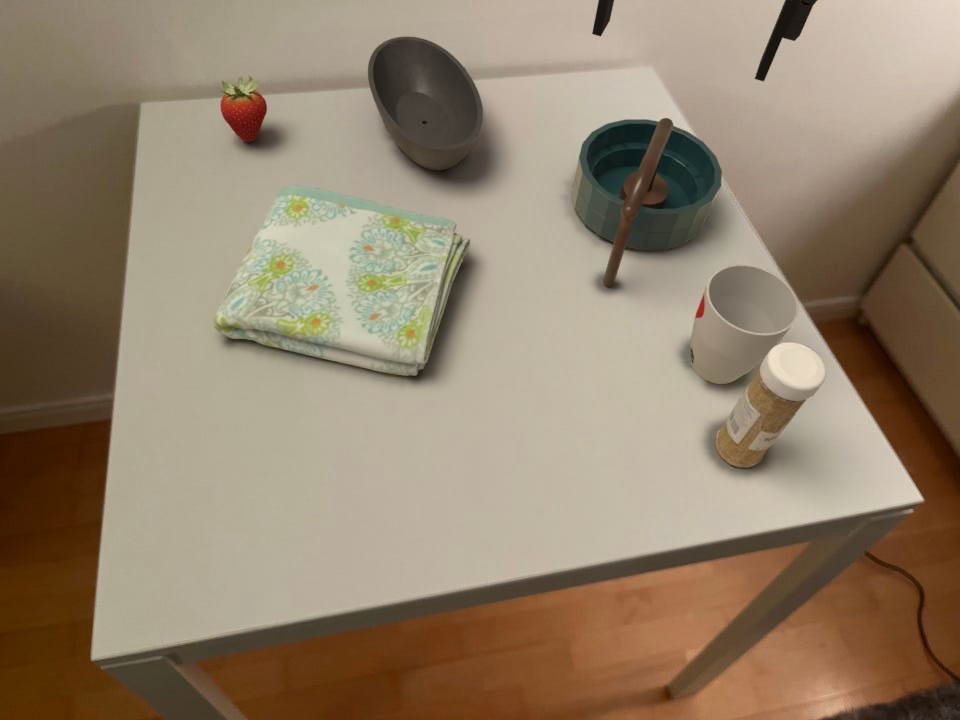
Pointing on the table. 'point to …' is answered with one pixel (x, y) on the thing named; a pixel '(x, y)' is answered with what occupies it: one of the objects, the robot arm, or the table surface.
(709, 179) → the mixing bowl
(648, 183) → the bent wooden rod
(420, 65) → the bowl
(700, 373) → the cup
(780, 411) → the sprinkles bottle
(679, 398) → the table surface
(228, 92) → the fruit
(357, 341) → the towel
